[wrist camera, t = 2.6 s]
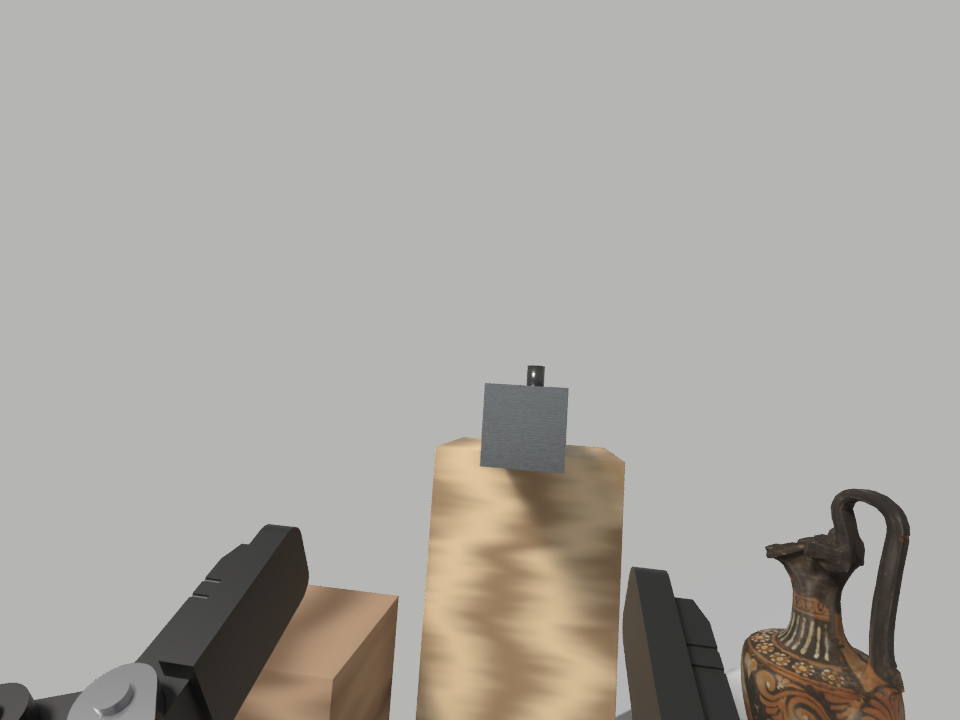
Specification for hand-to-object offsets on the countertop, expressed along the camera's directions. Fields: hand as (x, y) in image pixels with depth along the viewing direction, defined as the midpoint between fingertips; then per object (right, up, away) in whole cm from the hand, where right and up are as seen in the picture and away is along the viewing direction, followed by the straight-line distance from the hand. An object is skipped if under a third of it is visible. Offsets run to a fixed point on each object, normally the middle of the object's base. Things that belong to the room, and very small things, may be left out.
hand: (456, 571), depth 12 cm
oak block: (+2, -33, +22) cm, 40 cm away
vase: (+30, -36, +29) cm, 55 cm away
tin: (+4, -1, +21) cm, 22 cm away
